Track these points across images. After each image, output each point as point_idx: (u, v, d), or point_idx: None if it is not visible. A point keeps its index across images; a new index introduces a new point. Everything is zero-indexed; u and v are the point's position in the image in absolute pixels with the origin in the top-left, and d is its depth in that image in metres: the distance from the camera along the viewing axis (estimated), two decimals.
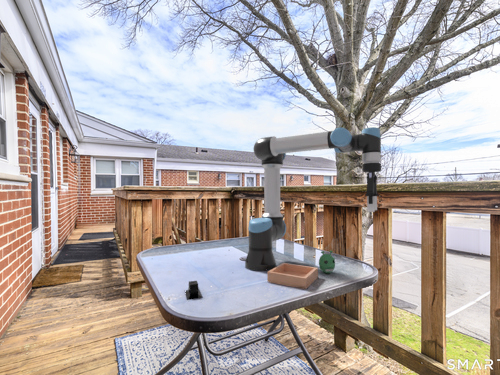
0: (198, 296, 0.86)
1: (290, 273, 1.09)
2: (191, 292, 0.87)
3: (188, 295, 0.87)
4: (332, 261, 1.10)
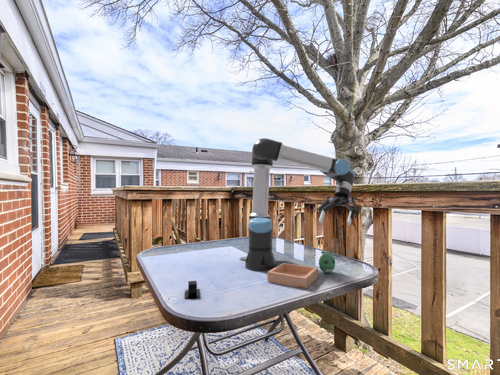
0: (196, 296, 0.86)
1: (290, 273, 1.09)
2: (189, 292, 0.87)
3: (186, 295, 0.87)
4: (332, 261, 1.10)
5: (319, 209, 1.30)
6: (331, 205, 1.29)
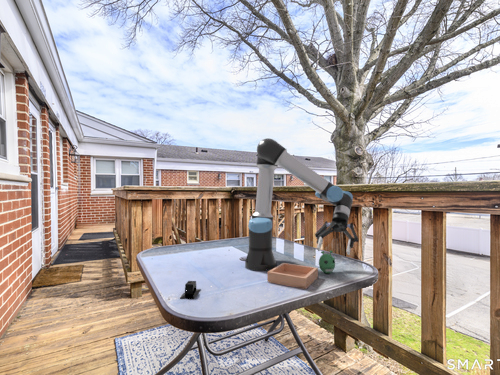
0: (191, 297, 0.86)
1: (290, 273, 1.09)
2: (186, 292, 0.87)
3: (183, 294, 0.88)
4: (332, 261, 1.10)
5: (316, 235, 1.25)
6: (329, 231, 1.24)
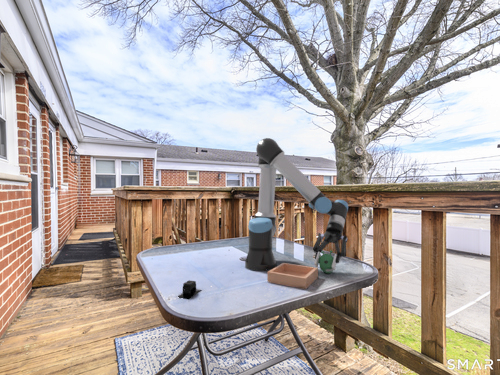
0: (187, 297, 0.86)
1: (290, 273, 1.09)
2: (184, 291, 0.88)
3: (182, 293, 0.89)
4: (332, 261, 1.10)
5: (315, 249, 1.18)
6: (325, 243, 1.18)
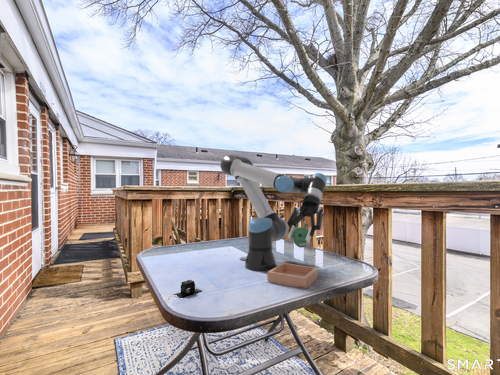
0: (182, 296, 0.87)
1: (290, 273, 1.09)
2: (181, 290, 0.89)
3: (181, 292, 0.90)
4: None
5: (289, 223, 1.10)
6: (301, 217, 1.11)
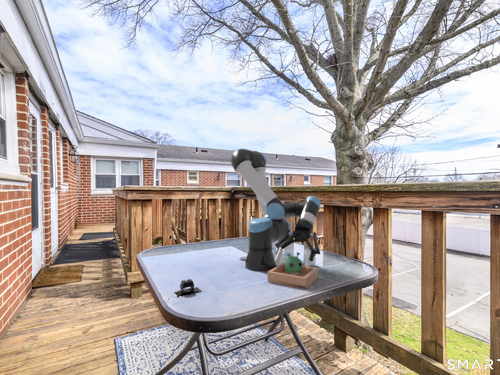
0: (178, 294, 0.88)
1: None
2: (180, 288, 0.91)
3: None
4: (298, 264, 1.02)
5: (277, 245, 1.12)
6: (290, 241, 1.11)
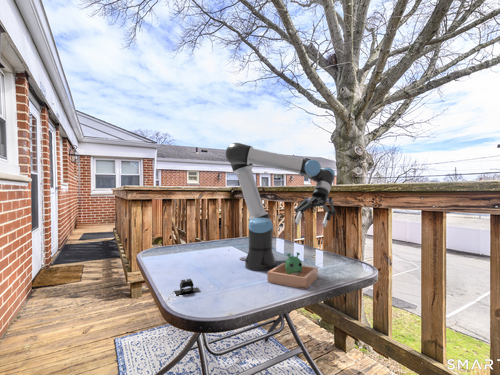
0: (177, 294, 0.89)
1: None
2: (180, 288, 0.91)
3: None
4: (298, 264, 1.02)
5: (296, 210, 1.26)
6: (308, 206, 1.25)
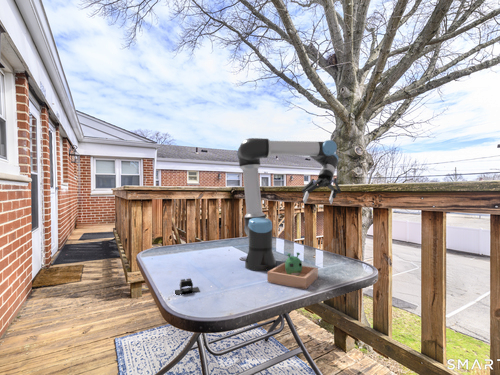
0: (177, 293, 0.89)
1: None
2: (180, 287, 0.92)
3: None
4: (298, 264, 1.02)
5: (303, 190, 1.35)
6: (315, 186, 1.34)
